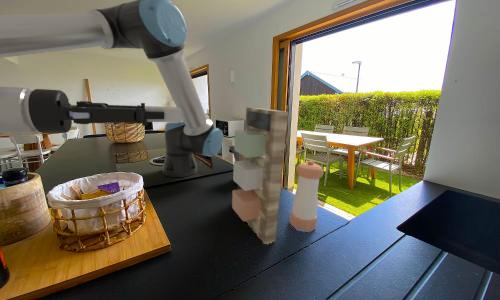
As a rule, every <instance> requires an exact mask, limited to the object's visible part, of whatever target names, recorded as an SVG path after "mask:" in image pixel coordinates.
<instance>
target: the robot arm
mask: <svg viewBox="0 0 500 300" xmlns="http://www.w3.org/2000/svg"><path fill="white" fill-rule="evenodd" d="M187 32H188V29H187V23H186V21H185V17H184V15H183V14H182V12H181V11H180V8H178V7H177V6H176V4H174V3H173V2H172V1H171V0H133V1H128V2H123V3H120V4H118V5H114V6H110V7H107V8H105V7H104V8H100V9H99V8H98V9H97V8H96V9H94V8H91V9H89V10H88V11H87V13H57V14H56V13H55V14H54V13H47V14H45V13H43V14H42V13H39V14H37V13H36V14H35V13H34V14H31V13H28V14H23V13H21V14H17V13H15V14H14V13H13V14H0V59H1V58H2V59H4V58H11V57H19V56H27V55H36V54H37V55H38V54H43V53H52V52H53V53H54V52H61V51H62V52H63V51H71V50H78V49H87V48H93V47H101V48H102V49H105V50H111V49H138V50H140V49H143V50H142V51H143V52H144V54H145V56H146V59H148V60H150V61H151V62H153V63H155V64H156V66H157V69H158V71H159V73H160V75H161V77H162V79H163V81H164V83H165V85H166V88H167V90H168V92H169V94H170V97H171V98H172V100H173V103H174V104H175V106H158V105H157V106H156V105H154V106H151V105H150V106H149V105H146V103H145V102H140V104H139V105H138V104H137V105H126V104H125V105H124V104H123V105H119V104H118V105H117V104H116V105H115V104H108V103H107V102H106V103H105V102H91V101H89V100H88V101H86V100H84V101H83V100H80V101H76V102H75V103H76V104H71V103H70V102H69V101H70V99H69V97H68V96H67V94H66V93H65V92H64V91H62V90H60V89H47V88H46V89H45V88H35V89H33V90H32V89H31V88H28V87H15V86H0V135H4V134H13V137H15V138H21V137H22V136H23V134H36V133H39V132H40V133H41V134H66V133H68V132H70V130H71V128H72V125H73V124H76V125H89V124H138V125H139V124H141V125H142V127H145V126H146V127H147V126H148V124H147V123H165V126H164V140H165V159H164V162H163V165H162V169H161V170H162V175H164V176H166V177H170V178H185V177H190V176H193V175H195V174H196V173H197V172H198V165H197V162H196V159H195V156H194V154H196V155H201V156H204V157H214V156H216V155H217V154H218V153H219V152H220V150H221V149H222V146H223V142H224V134H223V131H222V130H221V129H220V128H218V127H215V126H214V124H213V120H212V119H211V118H210V117H209V118H208V117H207V115H206V113H205V110H204V107H203V105H202V103H201V99H200V97H199V94H198V91H197V89H196V86H195V84H194V82H193V78H192V76H191V73H190V71H189V68H188V64H187V62H186V59H185V57H184V52H185V50H186V46H185V43H184V42H185V41H186V39H187V36H188V35H187V34H186V33H187Z"/></svg>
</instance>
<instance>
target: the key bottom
mask: <svg viewBox="0 0 500 300" xmlns="http://www.w3.org/2000/svg"><path fill="white" fill-rule="evenodd" d="M231 197H232V200H231V203H232V204H231V209H233V211H234V212H235V213H236V215H238V217H239V218H240V219H241V220H242V222H246V221H247V220H251V219H255V218H259V217H260V211H261V198H260V197H259V196H258V195H257V194H255V193H254V192H253V191H252V190H247V191H244V190H243V189H239V190H238V189H233V190H232V196H231Z"/></svg>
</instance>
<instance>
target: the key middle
mask: <svg viewBox="0 0 500 300" xmlns="http://www.w3.org/2000/svg"><path fill="white" fill-rule="evenodd" d="M232 170H233V177H232V181H233V180H234V181H235V182H236V183H235V182H234V181H233V182H234V183H235V184H237V186H238V185H239V186H240V187H241V188H242V189H243V190H244V191H247V190H253V189H259V188H262V185H263V172H264V167H262V166H260V165H259V164H257V163H255V162H254V161H252V160H245V161H235V160H234V161H233V169H232Z"/></svg>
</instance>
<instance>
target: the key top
mask: <svg viewBox="0 0 500 300" xmlns="http://www.w3.org/2000/svg"><path fill="white" fill-rule="evenodd" d="M265 145H266V134H265V133H262V132H261V133H260V132H257V131H254V130H245V129H244V130H243V129H242V130H241V129H238V130H235V131H234V145H233V146H234V150H235V151H236V152H238V153H240V154H241V155H243V156H245V157H246V158H249V157H260V156H265Z"/></svg>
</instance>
